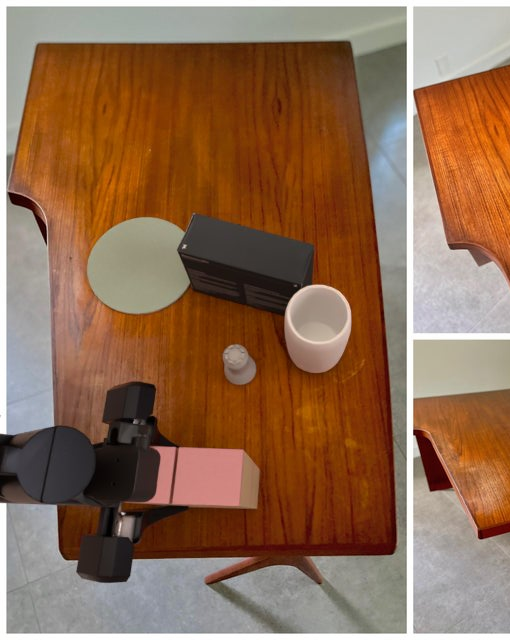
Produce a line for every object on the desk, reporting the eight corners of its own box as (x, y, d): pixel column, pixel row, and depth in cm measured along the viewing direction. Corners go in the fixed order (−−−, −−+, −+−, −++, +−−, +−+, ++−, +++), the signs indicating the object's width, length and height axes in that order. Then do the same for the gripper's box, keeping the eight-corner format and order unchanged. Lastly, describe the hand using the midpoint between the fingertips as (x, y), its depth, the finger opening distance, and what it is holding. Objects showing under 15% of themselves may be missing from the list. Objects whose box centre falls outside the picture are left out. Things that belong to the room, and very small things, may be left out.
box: (313, 281, 80) (316, 243, 69) (301, 321, 78) (301, 288, 67) (207, 252, 81) (192, 210, 70) (191, 290, 79) (174, 253, 68)
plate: (97, 327, 76) (96, 326, 76) (80, 233, 82) (79, 231, 81) (207, 298, 79) (206, 297, 78) (183, 208, 84) (183, 206, 83)
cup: (277, 332, 77) (273, 294, 64) (331, 313, 79) (338, 272, 65) (297, 386, 75) (297, 358, 61) (353, 365, 76) (364, 334, 63)
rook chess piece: (228, 389, 74) (220, 375, 67) (221, 359, 76) (213, 342, 68) (259, 381, 75) (255, 366, 67) (252, 351, 76) (247, 333, 69)
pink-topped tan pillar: (177, 506, 69) (123, 502, 48) (181, 466, 70) (132, 445, 49) (208, 507, 69) (169, 504, 48) (212, 467, 70) (176, 446, 49)
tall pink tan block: (210, 507, 69) (171, 504, 48) (214, 467, 70) (178, 446, 49) (257, 509, 69) (239, 506, 48) (260, 468, 71) (243, 449, 50)
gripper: (61, 596, 40) (227, 583, 51) (103, 357, 47) (242, 390, 57) (8, 581, 47) (163, 572, 58) (51, 376, 54) (183, 402, 64)
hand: (189, 482), depth 59 cm, fingers closed on pink-topped tan pillar, 5 cm apart
